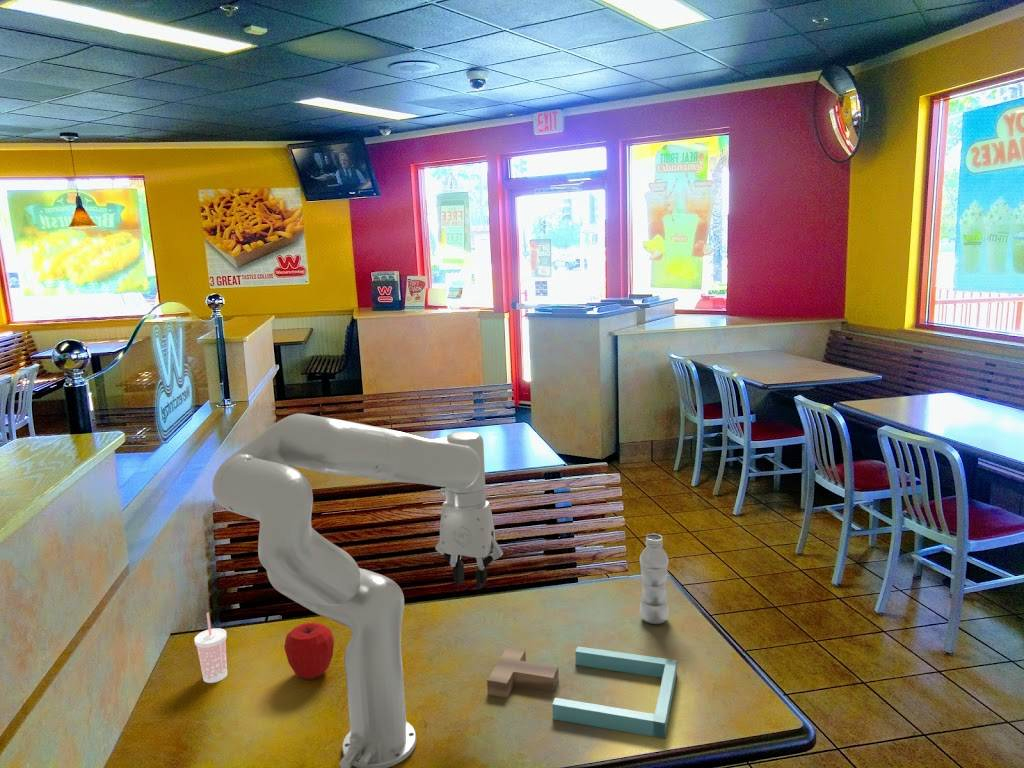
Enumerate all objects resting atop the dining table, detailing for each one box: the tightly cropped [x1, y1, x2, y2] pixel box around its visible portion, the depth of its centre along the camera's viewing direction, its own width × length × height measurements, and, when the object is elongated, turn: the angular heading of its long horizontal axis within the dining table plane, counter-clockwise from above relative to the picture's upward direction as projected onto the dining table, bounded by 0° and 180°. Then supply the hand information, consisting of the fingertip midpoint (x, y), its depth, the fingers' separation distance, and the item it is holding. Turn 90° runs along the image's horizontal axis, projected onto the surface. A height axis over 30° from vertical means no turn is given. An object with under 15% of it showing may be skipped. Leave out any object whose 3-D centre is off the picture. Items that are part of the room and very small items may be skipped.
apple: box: [283, 622, 335, 681], centre depth 149 cm, size 10×10×11 cm
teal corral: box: [551, 646, 678, 739], centre depth 139 cm, size 20×20×3 cm
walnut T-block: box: [486, 647, 560, 698], centre depth 145 cm, size 12×12×3 cm
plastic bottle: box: [639, 533, 670, 625], centre depth 164 cm, size 6×7×20 cm
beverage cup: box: [193, 612, 228, 684], centre depth 149 cm, size 6×6×14 cm
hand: (470, 583), depth 145 cm, fingers open, 3 cm apart
